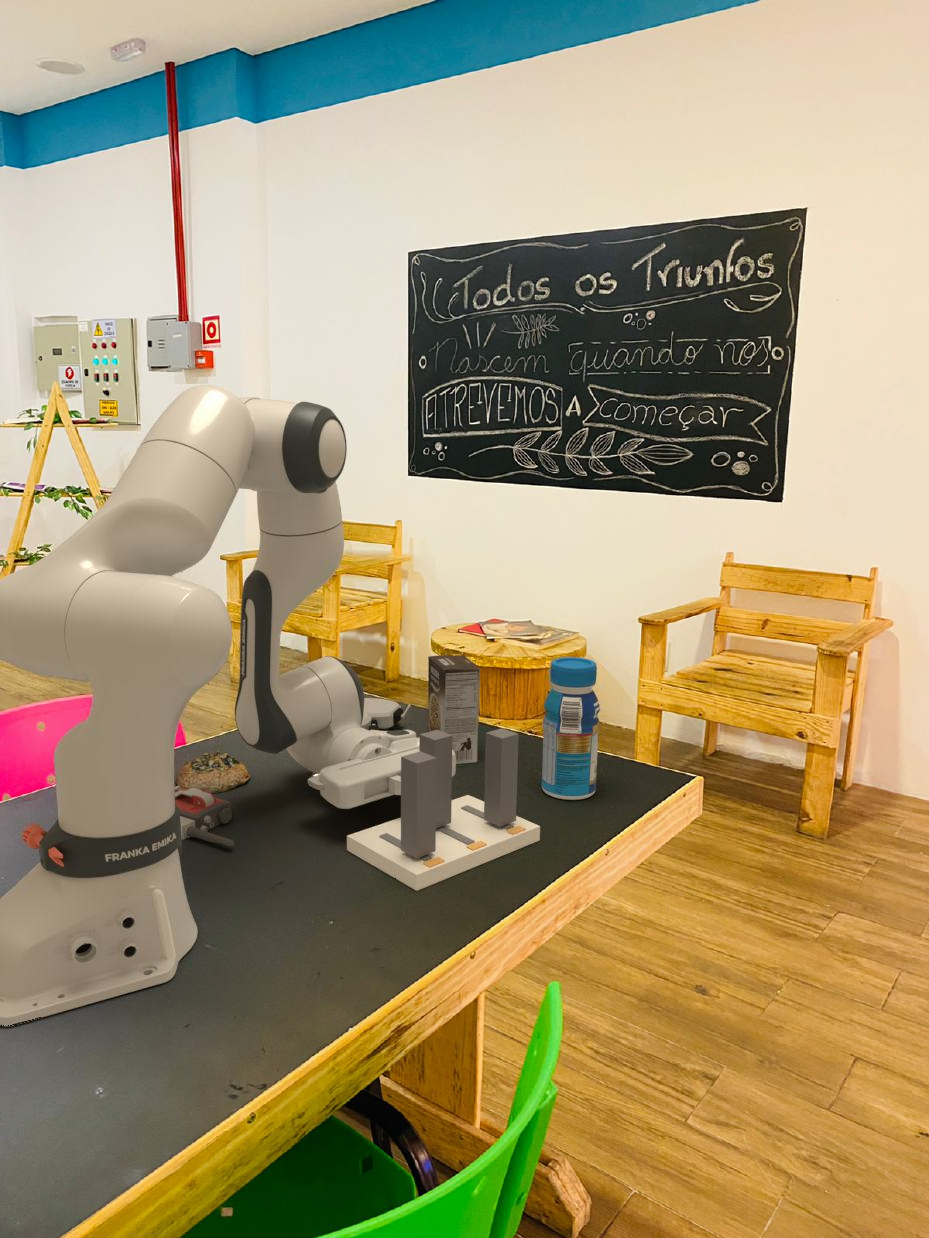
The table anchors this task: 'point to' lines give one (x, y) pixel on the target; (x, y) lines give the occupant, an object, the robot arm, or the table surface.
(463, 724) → the coffee box
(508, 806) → the right switch
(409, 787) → the tall grey switch
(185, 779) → the bread roll
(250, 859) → the table surface
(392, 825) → the switch bank
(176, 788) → the walkie-talkie
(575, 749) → the beverage bottle
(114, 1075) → the table surface
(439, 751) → the grey rectangular pillar
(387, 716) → the robot toy
